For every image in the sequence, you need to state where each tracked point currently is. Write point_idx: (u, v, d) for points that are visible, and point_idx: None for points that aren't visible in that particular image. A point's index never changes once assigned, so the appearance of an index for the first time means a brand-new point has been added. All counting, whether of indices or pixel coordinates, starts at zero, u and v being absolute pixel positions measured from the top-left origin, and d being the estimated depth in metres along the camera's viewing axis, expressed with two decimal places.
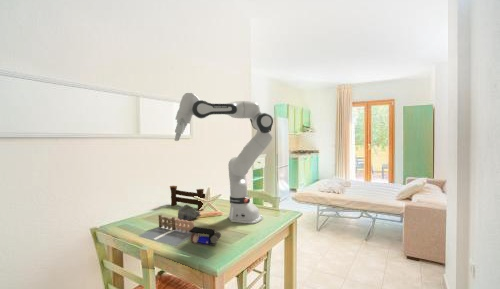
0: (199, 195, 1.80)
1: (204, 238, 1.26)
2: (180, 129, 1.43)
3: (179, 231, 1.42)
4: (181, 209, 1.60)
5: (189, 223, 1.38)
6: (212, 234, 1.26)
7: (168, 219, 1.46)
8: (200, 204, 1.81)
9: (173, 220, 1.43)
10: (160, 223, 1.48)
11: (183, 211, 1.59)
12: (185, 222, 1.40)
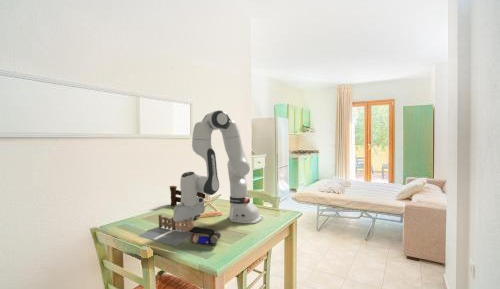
0: (199, 195, 1.80)
1: (204, 238, 1.26)
2: (176, 218, 1.33)
3: (179, 231, 1.42)
4: None
5: (189, 223, 1.38)
6: (212, 234, 1.26)
7: (168, 219, 1.46)
8: None
9: (173, 220, 1.43)
10: (160, 223, 1.48)
11: None
12: (185, 222, 1.40)
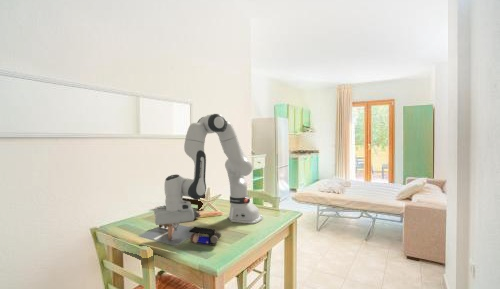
0: None
1: (204, 238, 1.26)
2: (155, 220, 1.32)
3: (179, 231, 1.42)
4: None
5: None
6: (212, 234, 1.26)
7: None
8: (200, 204, 1.81)
9: None
10: None
11: None
12: (170, 225, 1.35)
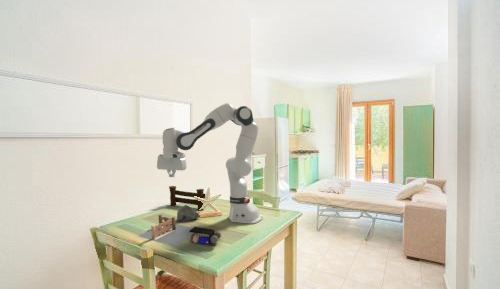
0: (199, 195, 1.80)
1: (204, 238, 1.26)
2: None
3: (179, 231, 1.42)
4: (180, 209, 1.59)
5: None
6: (212, 234, 1.26)
7: (168, 219, 1.46)
8: (200, 204, 1.81)
9: (173, 220, 1.43)
10: None
11: (182, 211, 1.59)
12: None
